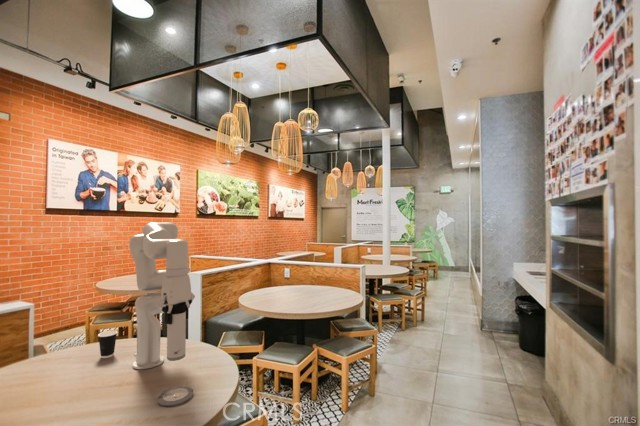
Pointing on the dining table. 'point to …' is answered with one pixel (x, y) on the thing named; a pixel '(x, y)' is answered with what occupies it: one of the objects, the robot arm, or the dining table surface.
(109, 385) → the dining table surface
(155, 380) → the dining table surface
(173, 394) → the gray rimmed disc
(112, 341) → the dixie cup
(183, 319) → the travel mug
